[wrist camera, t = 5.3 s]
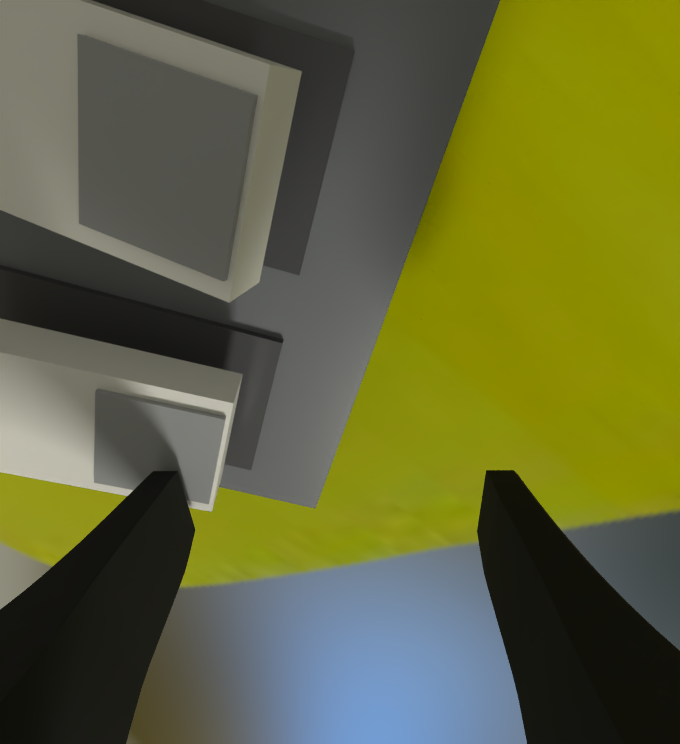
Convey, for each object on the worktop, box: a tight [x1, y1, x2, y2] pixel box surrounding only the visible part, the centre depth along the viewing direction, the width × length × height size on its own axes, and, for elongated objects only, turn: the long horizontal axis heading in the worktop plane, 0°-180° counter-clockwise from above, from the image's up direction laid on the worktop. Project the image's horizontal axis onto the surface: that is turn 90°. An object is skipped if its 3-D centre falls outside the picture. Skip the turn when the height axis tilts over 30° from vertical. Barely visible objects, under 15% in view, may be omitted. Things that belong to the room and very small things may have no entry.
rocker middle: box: [0, 0, 302, 303], centre depth 8 cm, size 7×4×1 cm, turn 74°
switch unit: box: [0, 0, 500, 508], centre depth 11 cm, size 13×20×3 cm, turn 164°
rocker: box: [0, 318, 243, 512], centre depth 12 cm, size 7×4×1 cm, turn 74°
